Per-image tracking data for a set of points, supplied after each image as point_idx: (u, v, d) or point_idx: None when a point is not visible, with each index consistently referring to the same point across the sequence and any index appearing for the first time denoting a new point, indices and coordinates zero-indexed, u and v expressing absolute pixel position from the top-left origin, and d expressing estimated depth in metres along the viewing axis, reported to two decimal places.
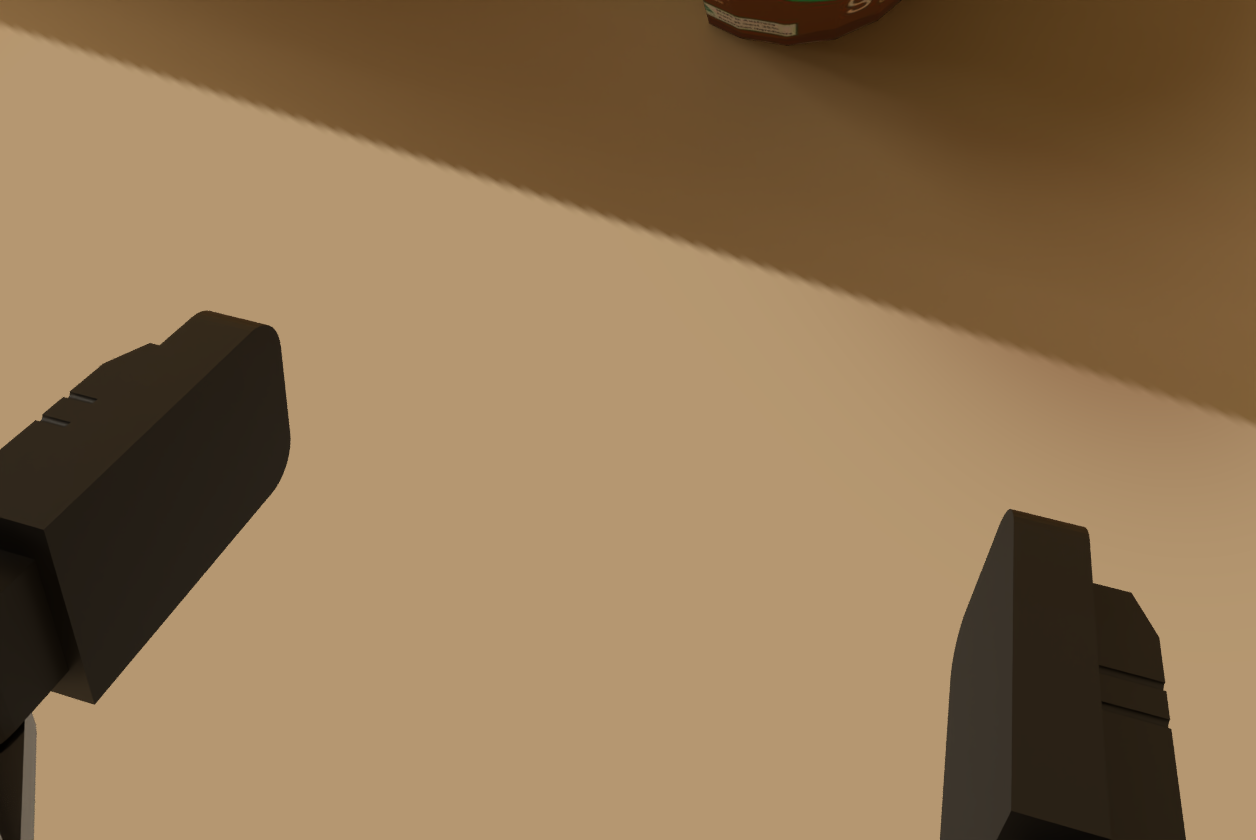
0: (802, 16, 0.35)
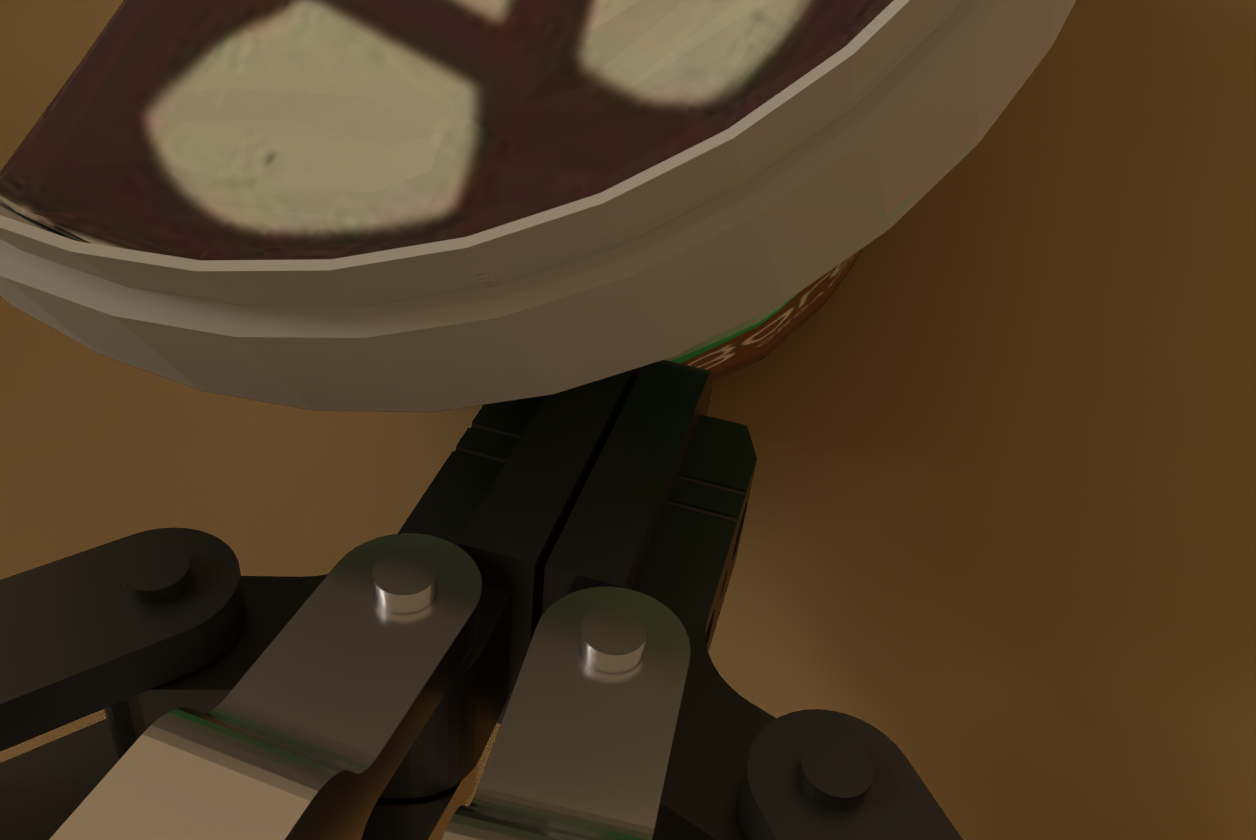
0: None
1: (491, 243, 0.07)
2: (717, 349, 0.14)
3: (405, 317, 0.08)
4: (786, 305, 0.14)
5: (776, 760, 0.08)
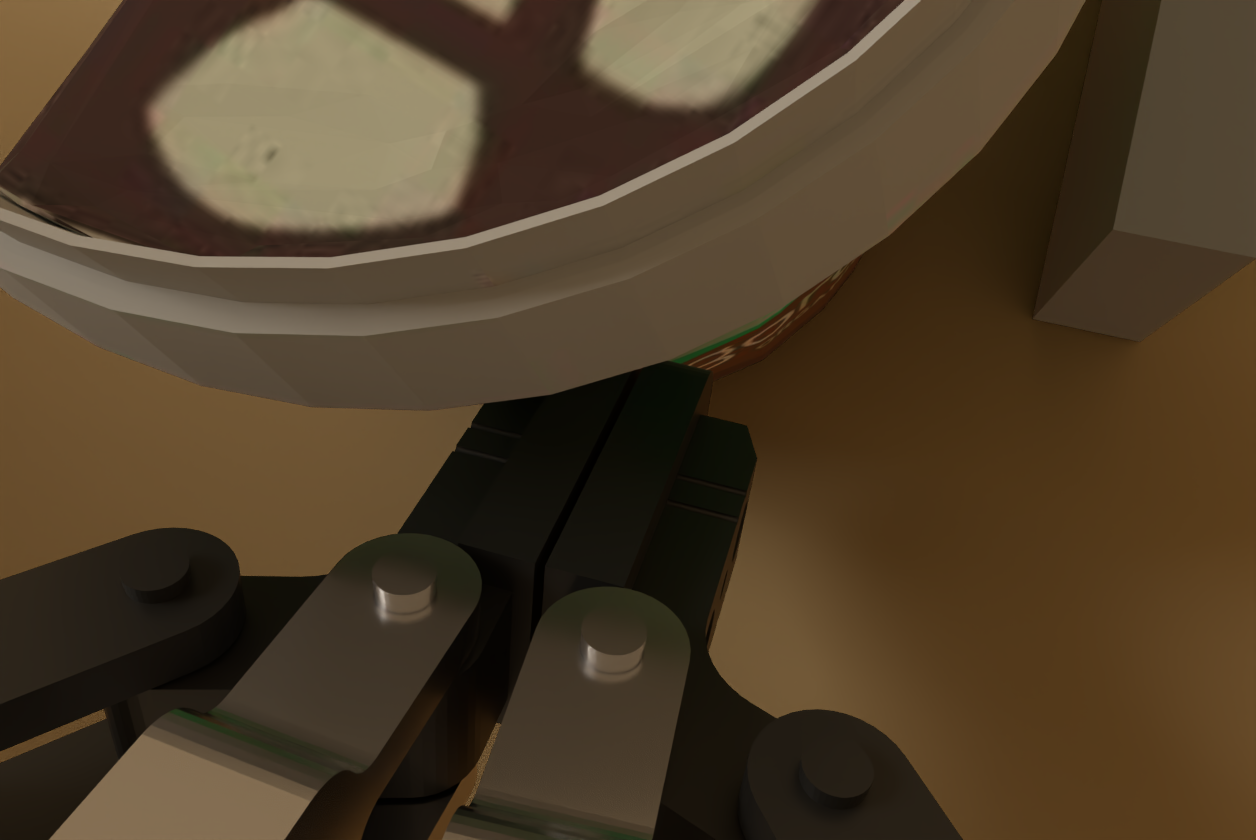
0: None
1: (490, 244, 0.07)
2: (717, 350, 0.14)
3: (404, 316, 0.08)
4: (787, 307, 0.14)
5: (776, 760, 0.08)
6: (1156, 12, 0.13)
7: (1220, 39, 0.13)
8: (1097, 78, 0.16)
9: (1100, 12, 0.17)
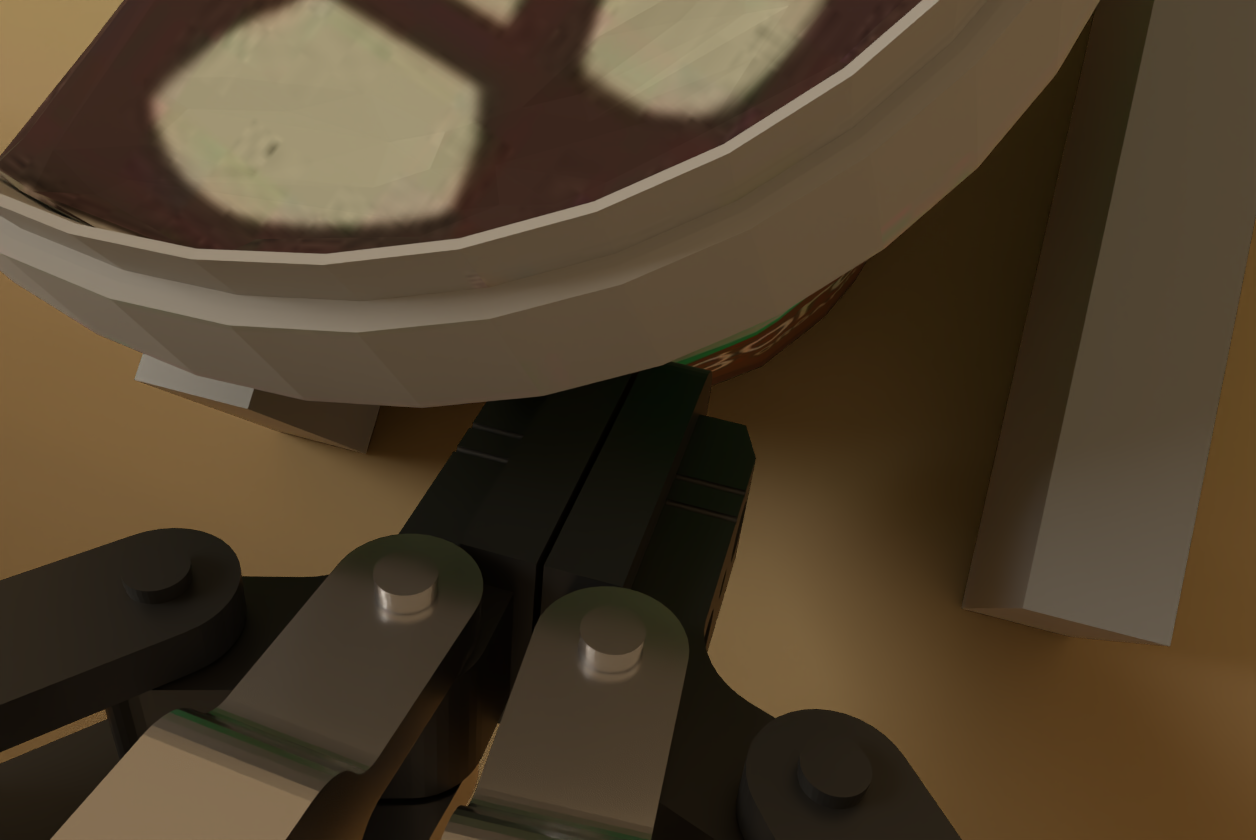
0: None
1: (484, 246, 0.07)
2: (714, 356, 0.14)
3: (397, 314, 0.08)
4: (785, 315, 0.14)
5: (774, 760, 0.08)
6: (1072, 366, 0.13)
7: (1136, 405, 0.12)
8: (1026, 372, 0.15)
9: (1034, 285, 0.16)
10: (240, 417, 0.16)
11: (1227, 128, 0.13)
